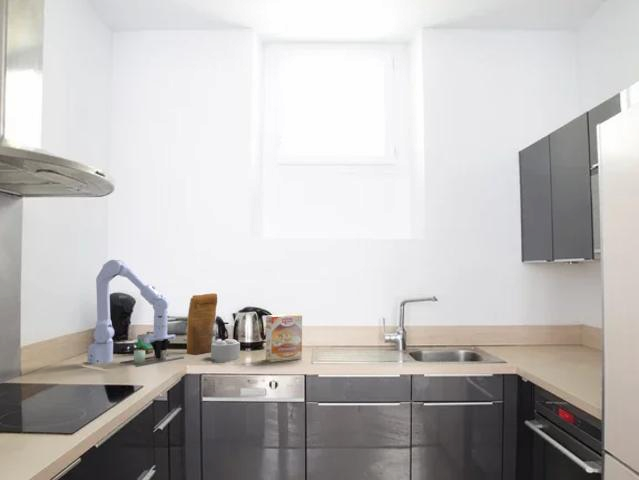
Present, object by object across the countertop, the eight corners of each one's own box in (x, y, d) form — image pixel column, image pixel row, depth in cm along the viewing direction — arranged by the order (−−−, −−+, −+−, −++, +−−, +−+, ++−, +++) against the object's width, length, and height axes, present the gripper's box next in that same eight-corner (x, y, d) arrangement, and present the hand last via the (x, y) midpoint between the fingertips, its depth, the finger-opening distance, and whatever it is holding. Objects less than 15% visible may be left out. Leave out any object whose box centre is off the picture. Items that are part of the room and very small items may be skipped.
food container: (150, 357, 226) (150, 335, 226) (136, 357, 226) (137, 335, 226) (159, 352, 238) (159, 331, 239) (146, 352, 238) (147, 331, 239)
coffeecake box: (271, 362, 214) (271, 316, 215) (265, 359, 221) (265, 315, 222) (302, 359, 221) (302, 314, 222) (295, 356, 228) (295, 313, 229)
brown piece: (137, 367, 201) (137, 355, 201) (124, 365, 206) (124, 353, 206) (168, 362, 213) (168, 350, 213) (155, 359, 218) (155, 348, 218)
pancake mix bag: (221, 350, 243) (221, 293, 244) (190, 356, 227) (191, 295, 229) (211, 349, 247) (212, 292, 248) (180, 355, 231) (181, 294, 233)
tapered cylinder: (137, 364, 204) (138, 352, 204) (131, 363, 206) (131, 351, 207) (147, 362, 207) (147, 350, 208) (141, 361, 210) (141, 349, 210)
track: (137, 369, 199) (137, 365, 199) (120, 365, 206) (120, 361, 206) (184, 360, 218) (184, 356, 218) (166, 357, 225) (166, 354, 225)
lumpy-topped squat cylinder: (243, 358, 223) (243, 338, 224) (222, 363, 212) (222, 342, 213) (226, 356, 229) (226, 337, 229) (205, 360, 218) (205, 340, 218)
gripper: (151, 328, 207) (151, 361, 207) (180, 325, 219) (179, 356, 218) (141, 327, 212) (140, 359, 211) (170, 324, 223) (169, 354, 222)
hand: (159, 357), depth 215 cm, fingers closed on brown piece
